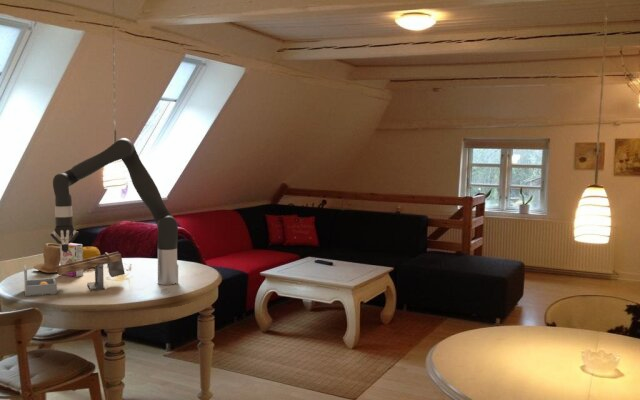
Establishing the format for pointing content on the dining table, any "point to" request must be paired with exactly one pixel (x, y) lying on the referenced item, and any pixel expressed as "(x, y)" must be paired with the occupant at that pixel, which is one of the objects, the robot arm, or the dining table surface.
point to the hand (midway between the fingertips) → (65, 251)
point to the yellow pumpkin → (90, 252)
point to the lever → (95, 264)
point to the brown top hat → (50, 258)
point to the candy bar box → (72, 257)
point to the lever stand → (97, 279)
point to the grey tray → (36, 289)
